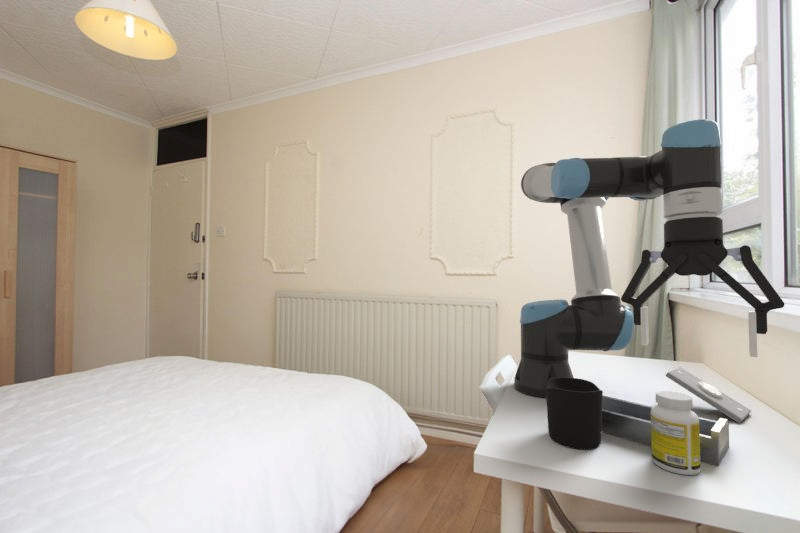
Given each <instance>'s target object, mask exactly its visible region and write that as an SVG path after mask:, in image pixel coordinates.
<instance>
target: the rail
mask: <svg viewBox="0 0 800 533" xmlns="http://www.w3.org/2000/svg"><path fill="white" fill-rule="evenodd" d="M652 407H653V406H651V405H647V404H642V403H638V402H634V401H630V400H624V399H622V398H621V399H619V398H616V397H612V396H606V395H603V396H602V429H601V433H605V434H608V435H612V436H614V437H619V438H622V439H625V440H628V441H632V442H635V443H639V444H643V445H645V446H650V447H651V409H652ZM698 418H699V433H700V462H702V463H707V464H710V465H713V466H716V467H719V466H720V465H721V463H722V461H723V459H724V457H725V456H726V454H727V452H728V450H729V448H730V431H729V430H730V426H729V424H730V423H728V418H723V417H719V418H718V420H714V419H710V418H705V417H701V416H698Z"/></svg>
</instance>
